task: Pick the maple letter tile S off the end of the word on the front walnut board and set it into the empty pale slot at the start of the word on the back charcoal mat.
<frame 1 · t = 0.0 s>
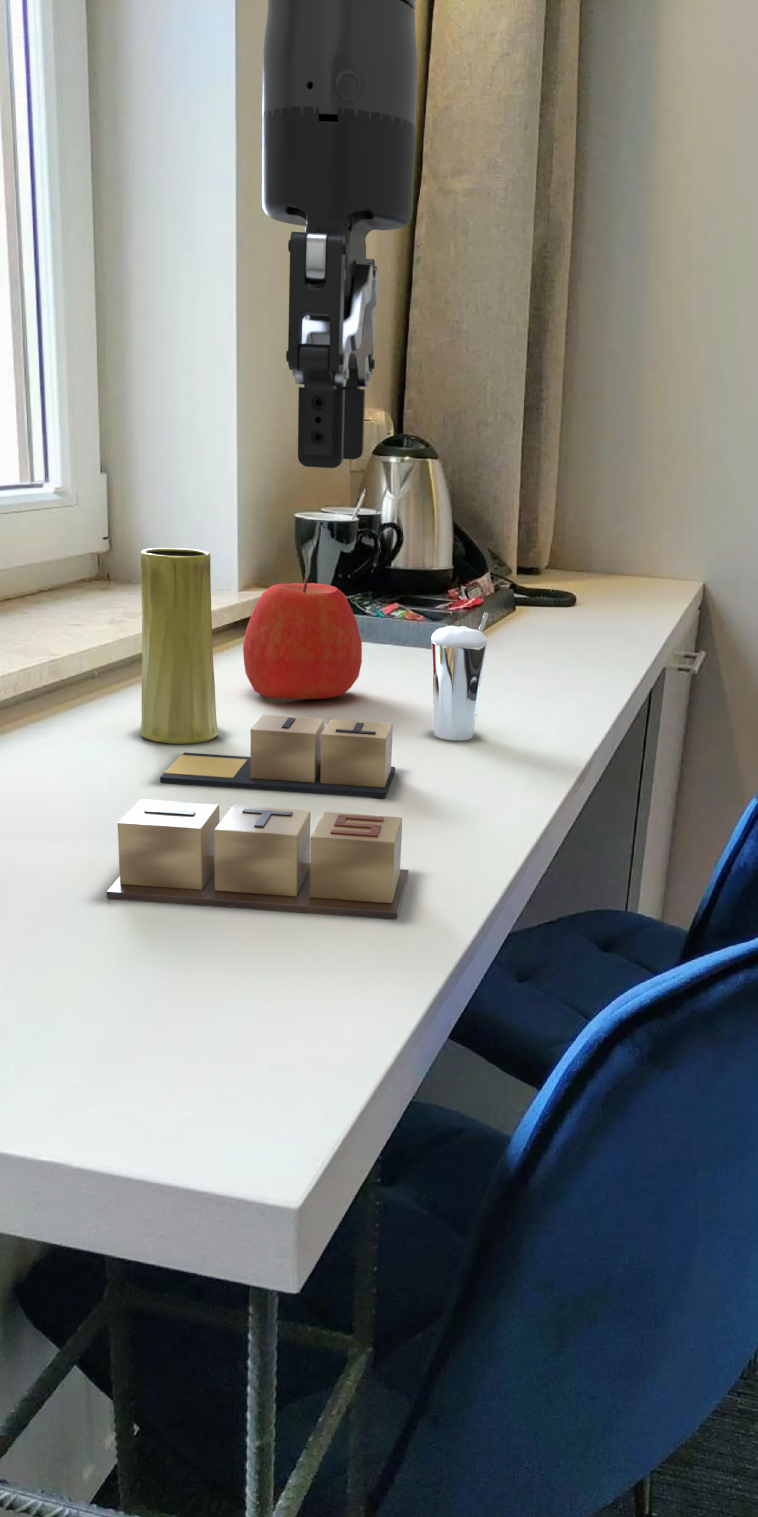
hand: (332, 462, 71), 23 cm above the table, tool pointing down, fingers open, 8 cm apart
near word: (263, 886, 76), on the table
vase: (179, 737, 107), on the table
milkshake: (457, 737, 111), on the table
far word: (281, 777, 97), on the table
apple: (300, 698, 122), on the table
tile s: (355, 886, 76), resting on near word
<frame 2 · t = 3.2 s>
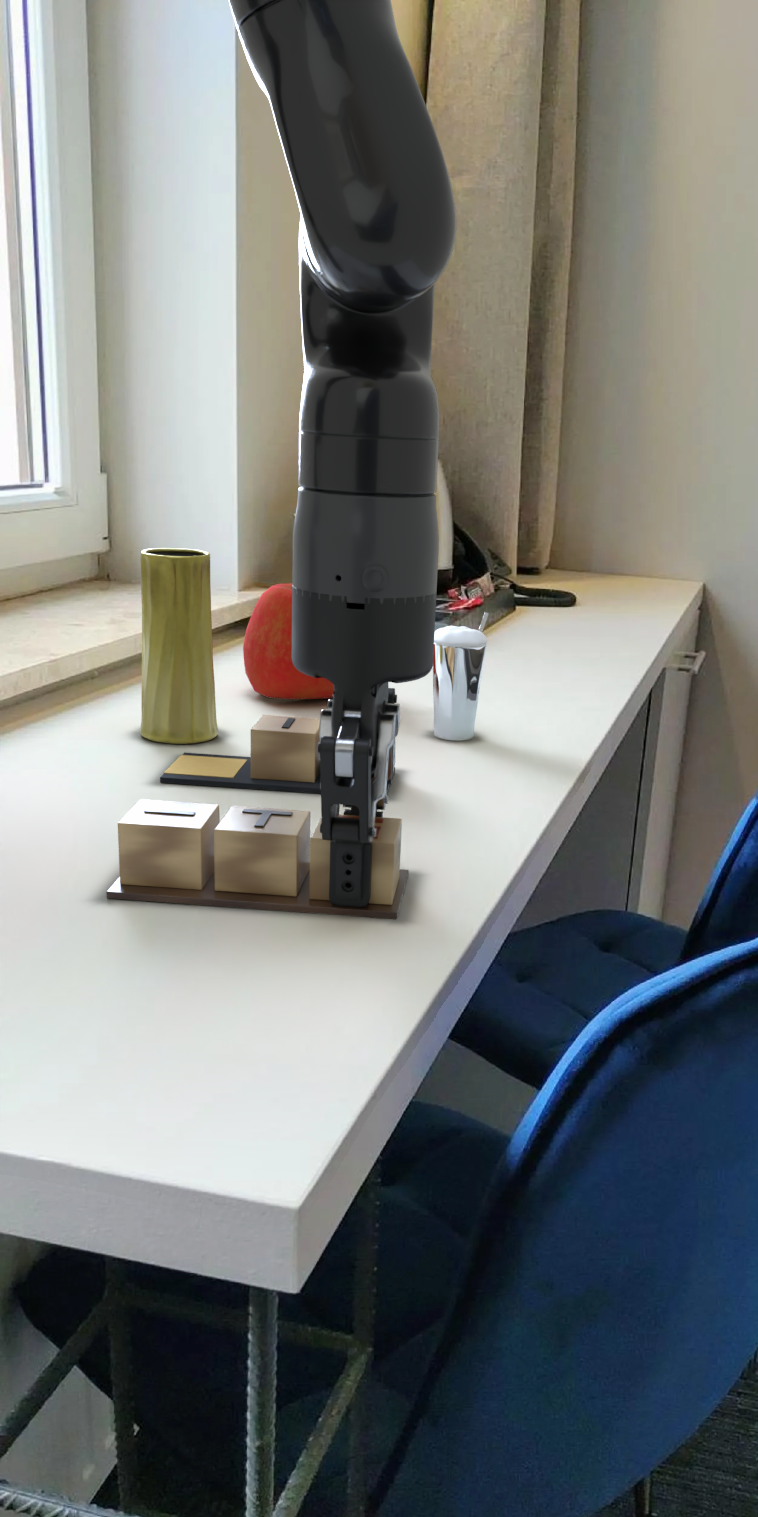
hand: (355, 886, 75), 0 cm above the table, tool pointing down, fingers closed on near word, tile s, 4 cm apart
tile s: (355, 888, 75), resting on near word, touching gripper
everything else where it was.
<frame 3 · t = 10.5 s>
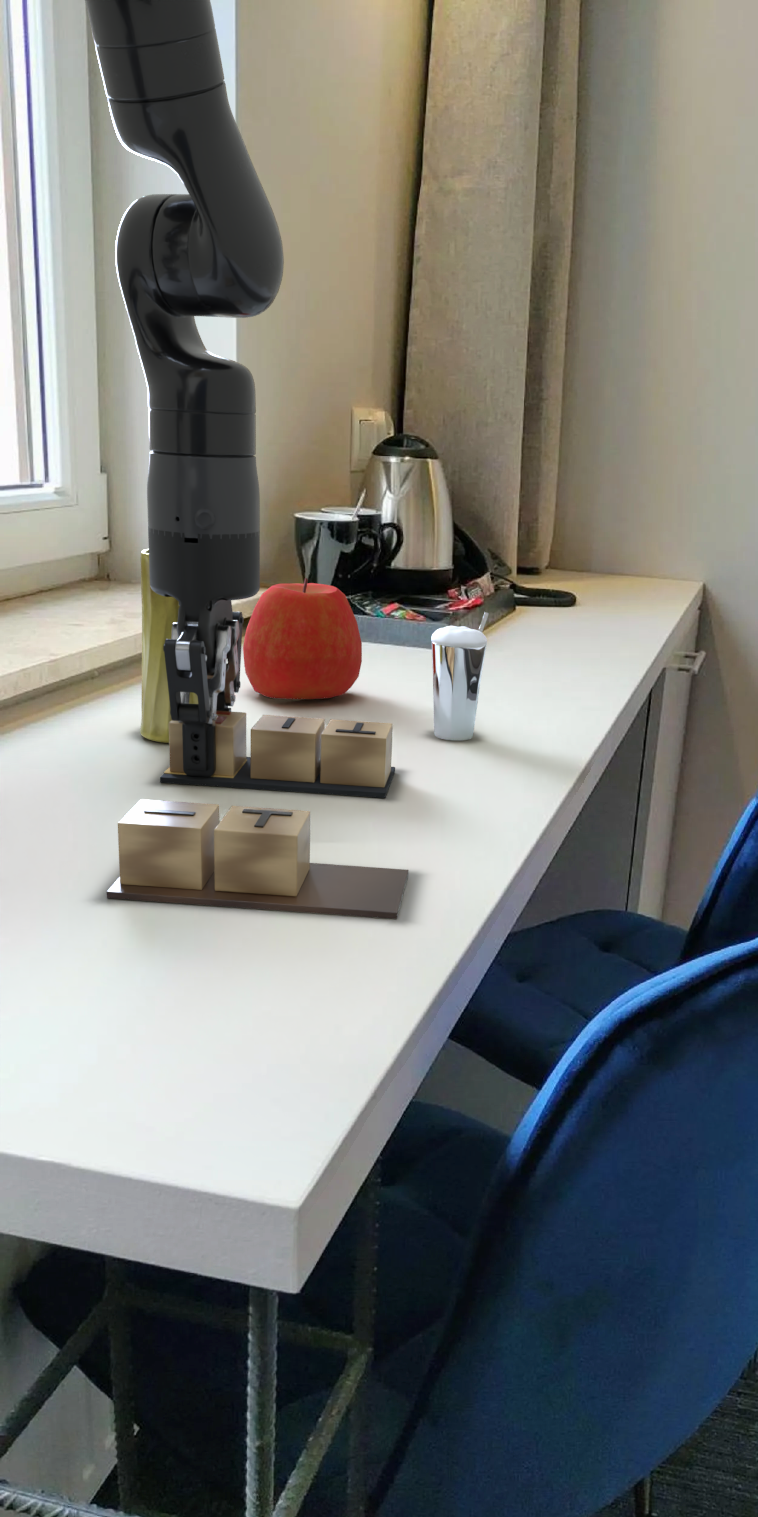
hand: (208, 764, 97), 1 cm above the table, tool pointing down, fingers closed on tile s, 4 cm apart
tile s: (208, 765, 97), resting on far word, touching gripper
everything else where it was.
when the fingers open (1 cm above the table, at t = 10.7 s): tile s stays where it is, resting on far word.
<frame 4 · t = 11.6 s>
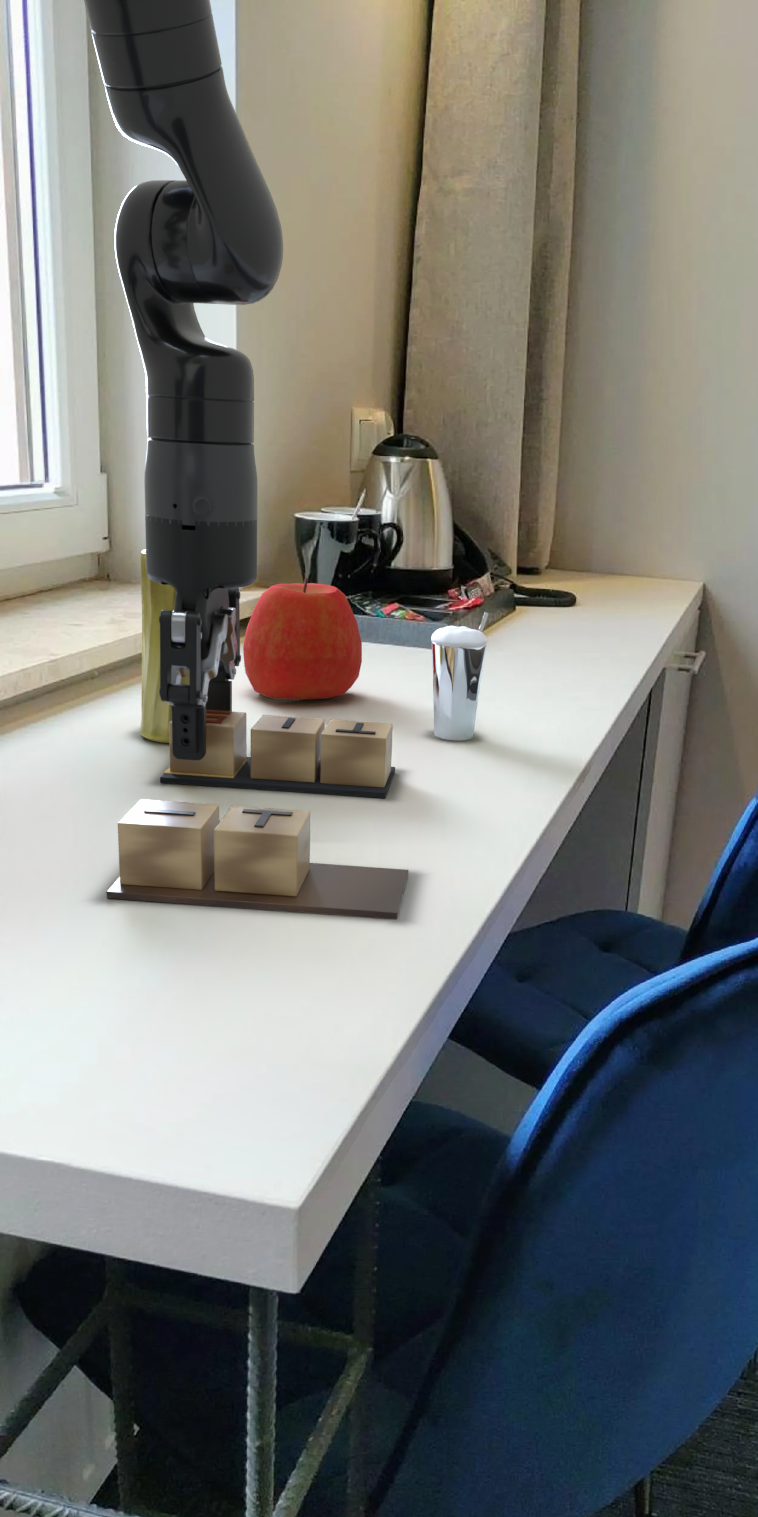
hand: (203, 743, 96), 2 cm above the table, tool pointing down, fingers open, 8 cm apart
tile s: (209, 765, 97), resting on far word
everything else where it was.
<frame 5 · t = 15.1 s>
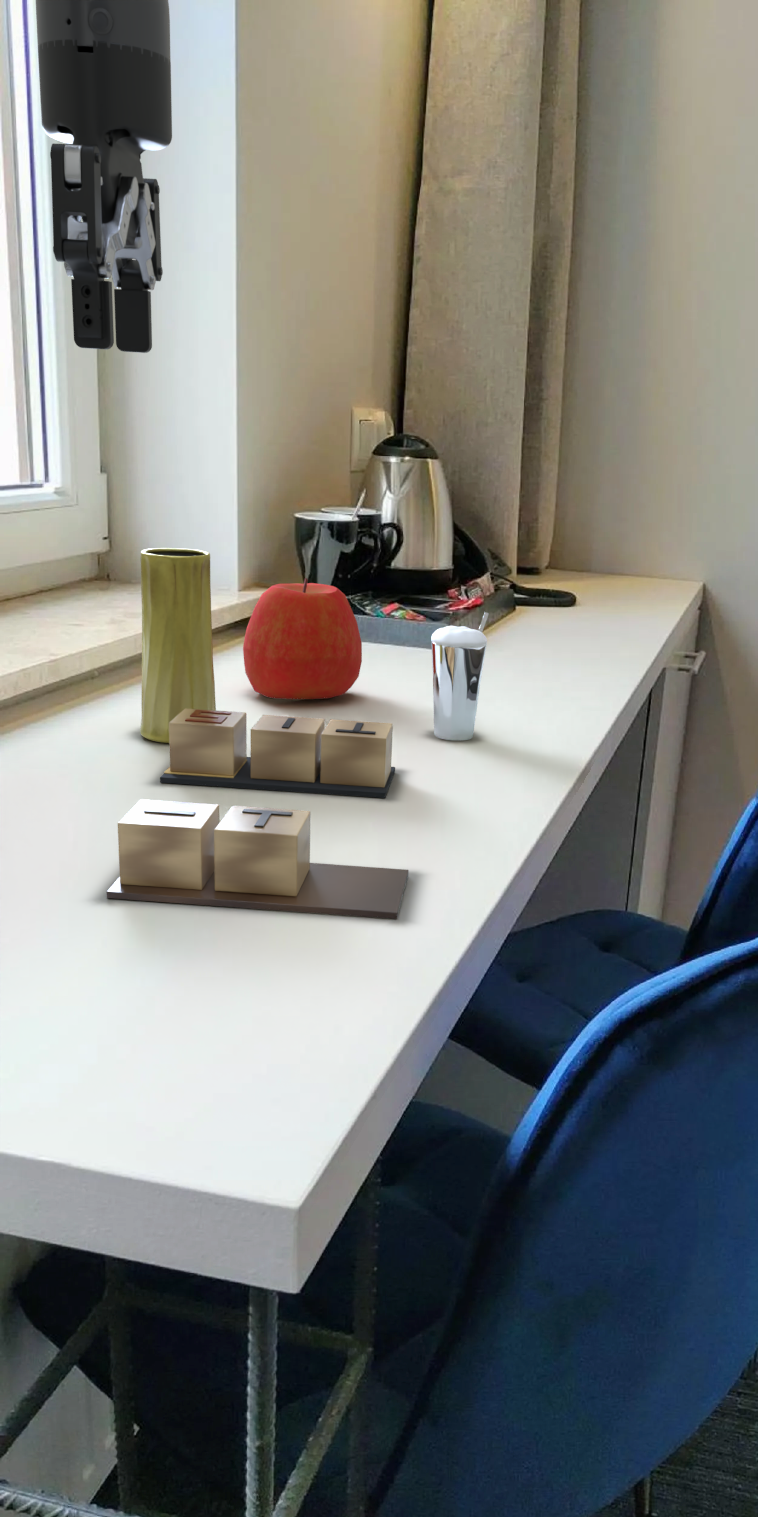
hand: (115, 350, 83), 28 cm above the table, tool pointing down, fingers open, 8 cm apart
nothing on the table moved.
at the end: tile s 0.2 cm from the target spot on the far word, point 0.5 cm above the far word's base; tile s tilted 0°; the gripper is holding nothing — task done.
